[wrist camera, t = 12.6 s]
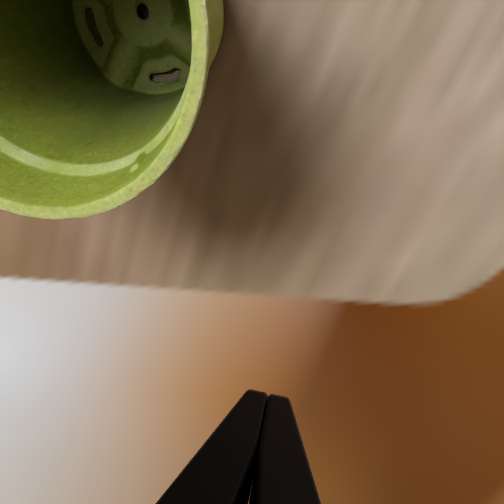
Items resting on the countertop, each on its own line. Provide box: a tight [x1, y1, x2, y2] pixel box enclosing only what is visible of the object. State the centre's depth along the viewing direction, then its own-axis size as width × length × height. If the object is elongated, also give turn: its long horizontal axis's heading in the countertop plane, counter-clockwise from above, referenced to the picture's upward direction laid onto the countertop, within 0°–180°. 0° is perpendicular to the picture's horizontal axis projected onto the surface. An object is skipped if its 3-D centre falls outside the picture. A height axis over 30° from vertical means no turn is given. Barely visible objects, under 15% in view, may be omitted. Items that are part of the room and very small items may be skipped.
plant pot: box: [0, 0, 224, 220], centre depth 13 cm, size 9×9×9 cm
